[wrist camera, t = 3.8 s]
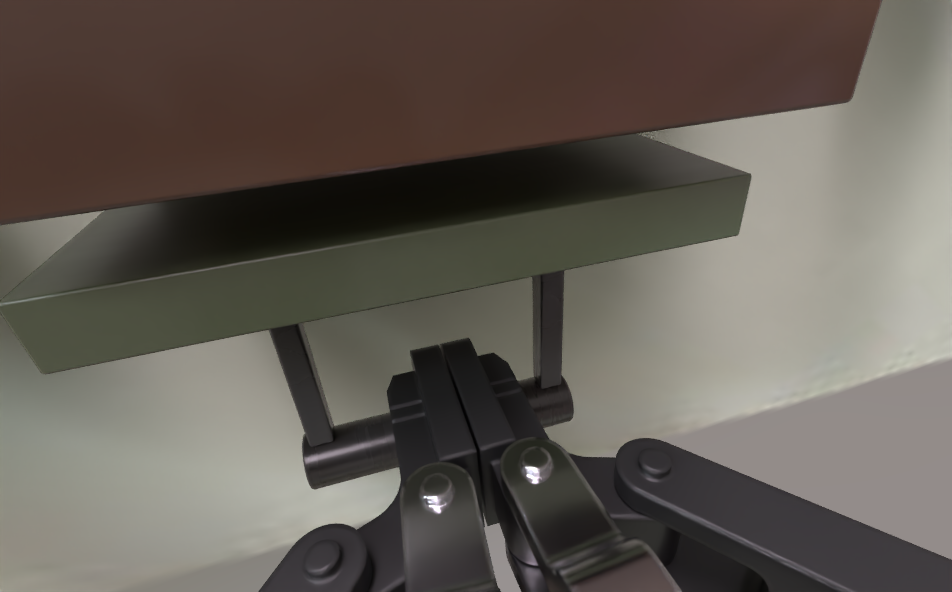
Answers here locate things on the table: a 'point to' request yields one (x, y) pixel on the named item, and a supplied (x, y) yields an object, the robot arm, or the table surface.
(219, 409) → the table surface
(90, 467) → the table surface
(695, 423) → the table surface
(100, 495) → the table surface
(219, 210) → the drawer
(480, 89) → the cabinet
